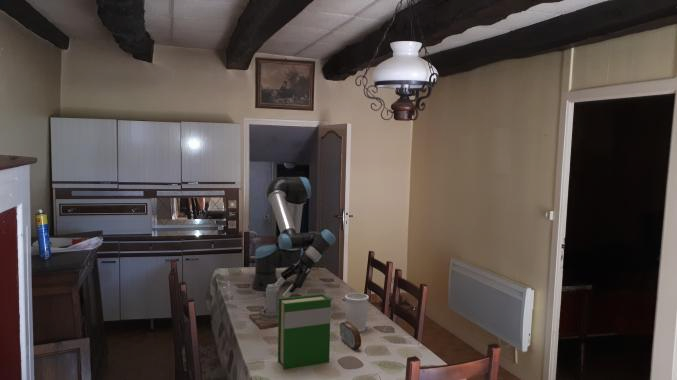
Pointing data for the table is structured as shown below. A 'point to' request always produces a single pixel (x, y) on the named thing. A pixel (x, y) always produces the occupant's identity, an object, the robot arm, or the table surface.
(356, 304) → the jar
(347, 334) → the tin
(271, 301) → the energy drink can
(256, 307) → the table surface
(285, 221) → the robot arm
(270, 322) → the mount
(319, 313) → the hardback book
